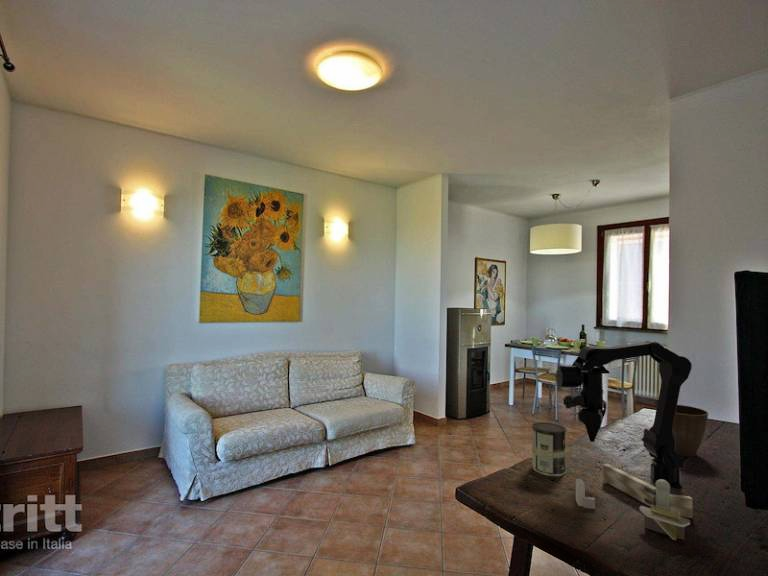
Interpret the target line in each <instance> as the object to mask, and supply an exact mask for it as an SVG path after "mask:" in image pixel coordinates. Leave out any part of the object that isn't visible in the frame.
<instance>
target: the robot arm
mask: <svg viewBox="0 0 768 576" xmlns="http://www.w3.org/2000/svg"><path fill="white" fill-rule="evenodd" d="M645 356H646V357H647V356H649V357H650V358H651V359H653V360H654V361H655V362H656V363H657V364H658V373H659V376H660V379H661V384H660V389H659V395H658V400H657V404H656V410H655V415H654V420H653V425H652V426H651V427H650V428H649V429H648V428H644V430H643V437H642V438H641V442H643V443H642V444H643V445H642V446H643V448H644V449H645V450H646V451H647V452H648V454H649V457H651V458H652V459H651V462H652V463H650V475H649V477H650V478H651V479H652V480H653V481H654V482H655V483H656V481H657V480H659V479H663V480H665V481H667V482H668V483H669V485H670V487H676V488H683V485H682V484H681V483H680V481H681V480H680V479H681V478H680V471H681V470H680V469H682V468H683V466H684V465H685V460H684V459H683V458H682V457H681V455H679V454H677V453H676V452H675V440H674V436H673V433H672V429H673V424H674V418H675V413H676V408H677V405H678V403H679V396H680V390H681V387H682V385H683V384H684V383H685V382H686V381H687V379H689V377H690V373H691V370H692V368H693V367H692V366H693V365H692V362H691V361H690V360H689V358H687V357H685V356H682V355H679V354H677V353H675V352H674V351H672V350H669V349H668V348H666V347H665V346H663V345H661V343H659V342H656V341H651V340H646V341H644V342H636V343H630V344H622V345H615V346H609V347H608V346H606V347H605V346H590V345H589V346H588V345H587V346H583V347H581V349H580V350H579V353H578V356H577V357H576V358H575V360H574V362H573V363H572V365H563V364H561V365H560V364H559V365H558V369H556V373H555V381H556V385H557V386H558V388H579V387H580V386H582V387H581V388H582V389H581V390H580V392H579V393H573V394H569V395H565V396H564V397H563V398H562V400H563V402H562V403H563V405H564V406H565V408H566V410H567V409H571V408H575V407H580V408H581V409H580V410H579V411H578V413H577V418H578V420H579V422H581V423H582V424H584V425H585V429H586V432H587V435H588V439H589V442H591V443H594V442H595V440H596V437H597V435H598V433H599V431H600V428H601V426H602V423H603V420H604V417H605V415H606V413H607V408H608V407H607V401H605V400H604V389H603V374H606V375H607V374H610V371H609V370H608V369H607V368H606V367H605V365H608V364H610V363H612V362H614V361H617V360H625V359H633V358H638V357H645Z"/></svg>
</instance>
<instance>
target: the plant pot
mask: <svg viewBox="0 0 768 576" xmlns="http://www.w3.org/2000/svg"><path fill="white" fill-rule="evenodd" d="M708 419H709V412H708V411H707V410H704V409H702V408H699V407H694V406H688V405H683V404H677V408H676V413H675V418H674V424H673V429H672V433H673V436H674V440H675V452H676V453H677V454H678V455H679V456H684V457H695V456H696V455H697V454H698V451H699V449H700V446H701V445H702V442H703V438H704V435H705V432H706V428H707V422H708Z"/></svg>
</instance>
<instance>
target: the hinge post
mask: <svg viewBox="0 0 768 576" xmlns="http://www.w3.org/2000/svg"><path fill="white" fill-rule="evenodd" d="M655 487H656V509H658V506H659V507H663V508H666V509H670V494H671V492H670V491H671V486H670V485H669V483H668V482H667V481H665V480H663V479H659V480H657V481H656V482H655ZM668 511H669V512H670V510H668ZM669 514H670V513H669Z"/></svg>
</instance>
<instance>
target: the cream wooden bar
mask: <svg viewBox="0 0 768 576" xmlns="http://www.w3.org/2000/svg"><path fill="white" fill-rule="evenodd" d="M602 466H603V467H602V469H603V470H602V471H603V477H602V478H603V482H605V483H607V484H608V485H610V486H612V487H614V488H615V489H617V490H619V491H621V492H623V493H624V494H626V495H628V496H630V497H632V498H634V499H636V500H637V501H639V502H641V503H643V504H644V505H646V506H649V508H651V504H652V505H653V506H654V505H656V486H654V485H652V484H651V483H650V484H649V483H648V482H645V481H644V480H642V479H640V478H637V477H635V476H634V475H632V474H630V473H627V472H626V471H624V470H621V469H619V468H618V467H616V466H613V465H611V464H609V463H604V464H602ZM653 506H652V509H654V508H656V506H654V507H653Z"/></svg>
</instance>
